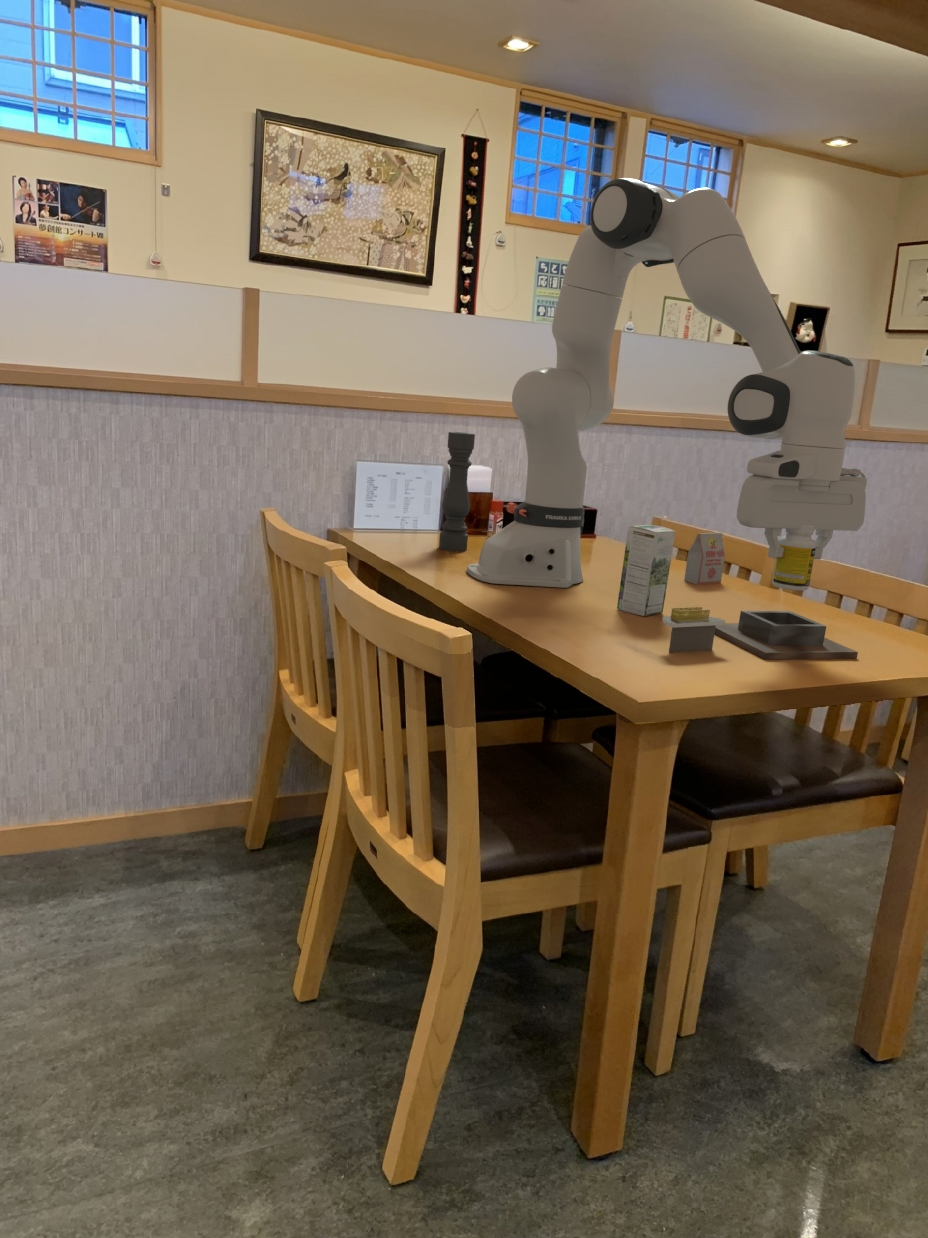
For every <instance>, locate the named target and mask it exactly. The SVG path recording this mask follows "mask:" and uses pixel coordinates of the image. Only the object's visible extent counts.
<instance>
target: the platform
mask: <svg viewBox="0 0 928 1238" xmlns="http://www.w3.org/2000/svg"><path fill="white" fill-rule="evenodd" d="M710 612H711V609H710V608H709V609H703V606H693V607H692V606H690V607H688V606H687V607H671V613H670V616H669V615H668V616H667V615H666V616H663V617H662V623H663V624H664V625H665V626H666V627H670V628H671V633H670V640H669V647H668V653H669V654H673V653H674V654H675V652H676V653H685V652H686V653H687V652H701V651H713V647H714V646H713V645H714V639H715V635H716V634H715V628H716V625H725V623H726V620H725V619H722V618H719V617H713V616H710Z"/></svg>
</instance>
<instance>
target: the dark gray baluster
mask: <svg viewBox="0 0 928 1238" xmlns="http://www.w3.org/2000/svg"><path fill="white" fill-rule="evenodd" d="M475 439H476V434H475V433H472V432H471V433H470V432H461V431H448V434H447V448H448V453H449V456H450V458H449V459H448V460H447V465H449V476H448V478H449V479H448V484H447V488H446V490H445V494H444V497H443V501H442V503H441V508H442V511H443V514H444V515H445V516H444V517H445V521H444V522H443V524H441V530H442V531H440V533H439V541H438V543H439V544H438V549H440V550H442V551H448V552H466V551H467V550H468V540H469V534H468V533H467V531H468V526H467V524H466V522H465V520H466V517H467V516H468V515H469V512H470V509H471V501H470V495H469V494H470V493H469V488H468V473H469V469H470V467H471V466H472V464H473V463H472V461H471V460H470V457H471V455H472V454H473V450H475Z"/></svg>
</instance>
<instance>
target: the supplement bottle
mask: <svg viewBox="0 0 928 1238" xmlns="http://www.w3.org/2000/svg"><path fill="white" fill-rule="evenodd" d="M784 531H785V532H786V534H785V535H783V536H782V535H781V536H780V538H778V540H779V544H780V547H784V548H785V550H784V553H783V554H784V556H783V558H782V559H775V561H774V567H773V572H772V578H771V585H772V586H774V587H775V588H779V589H783V590H790V591H798V592H799V591H801V592H802V591H807V590H808V589H809V588H810V583H811V577H812V571H813V567H814V560H815V559H814V555H815V550H816V542H815V540H814V539H813V538H812V536H813V535H814V533H815V530H814V529H813V526H810V525H804V526H803V527H802V528H801V529H784Z"/></svg>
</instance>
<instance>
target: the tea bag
mask: <svg viewBox="0 0 928 1238" xmlns="http://www.w3.org/2000/svg"><path fill="white" fill-rule="evenodd" d="M695 537H696V538H694V540H693V543H692V545H691V546H690V548H689V550H688V553H687V559H686V564H685V572H684V573H685V574H684V580H683V581H685V582H689V583H692V584H695V585H706V584H709V585H710V584H721V583H722V577H723V571H724V564H725V558H726V552H725V547H724V541H723V540H724V539H723V532H705V533H704V532H703V533H701V532H700V533H697V535H696V536H695Z"/></svg>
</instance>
